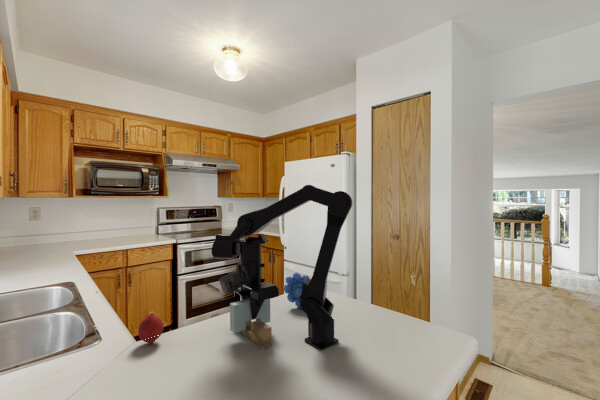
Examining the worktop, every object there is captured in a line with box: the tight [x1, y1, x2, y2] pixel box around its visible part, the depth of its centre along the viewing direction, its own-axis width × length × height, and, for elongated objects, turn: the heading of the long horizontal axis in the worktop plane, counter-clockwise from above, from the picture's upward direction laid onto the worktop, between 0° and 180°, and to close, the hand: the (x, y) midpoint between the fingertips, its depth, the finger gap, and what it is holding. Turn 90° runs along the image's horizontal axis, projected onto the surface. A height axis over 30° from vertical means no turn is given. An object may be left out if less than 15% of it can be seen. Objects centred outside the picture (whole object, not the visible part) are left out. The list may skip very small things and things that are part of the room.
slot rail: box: [239, 320, 272, 349], centre depth 79 cm, size 16×2×4 cm, turn 39°
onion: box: [137, 311, 165, 344], centre depth 75 cm, size 6×6×8 cm
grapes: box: [283, 272, 311, 309], centre depth 99 cm, size 12×7×12 cm, turn 85°
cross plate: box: [229, 298, 271, 334], centre depth 79 cm, size 2×11×7 cm, turn 129°
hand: (251, 317), depth 79 cm, fingers open, 2 cm apart
